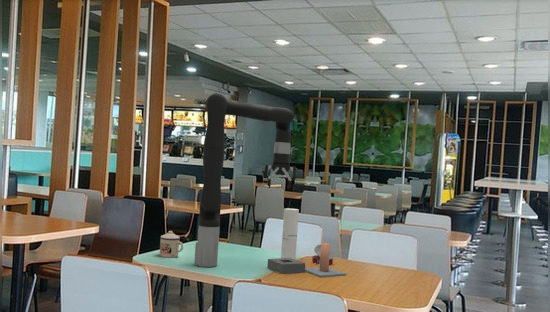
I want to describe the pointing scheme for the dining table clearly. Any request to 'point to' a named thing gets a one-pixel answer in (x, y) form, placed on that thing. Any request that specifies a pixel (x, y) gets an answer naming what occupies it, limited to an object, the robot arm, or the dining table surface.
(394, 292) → the dining table surface
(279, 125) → the robot arm
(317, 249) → the canned food
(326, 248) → the plug
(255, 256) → the dining table surface
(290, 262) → the gray square hole block
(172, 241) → the teacup with lid
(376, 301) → the dining table surface
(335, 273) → the mat
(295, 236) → the cylindrical container
